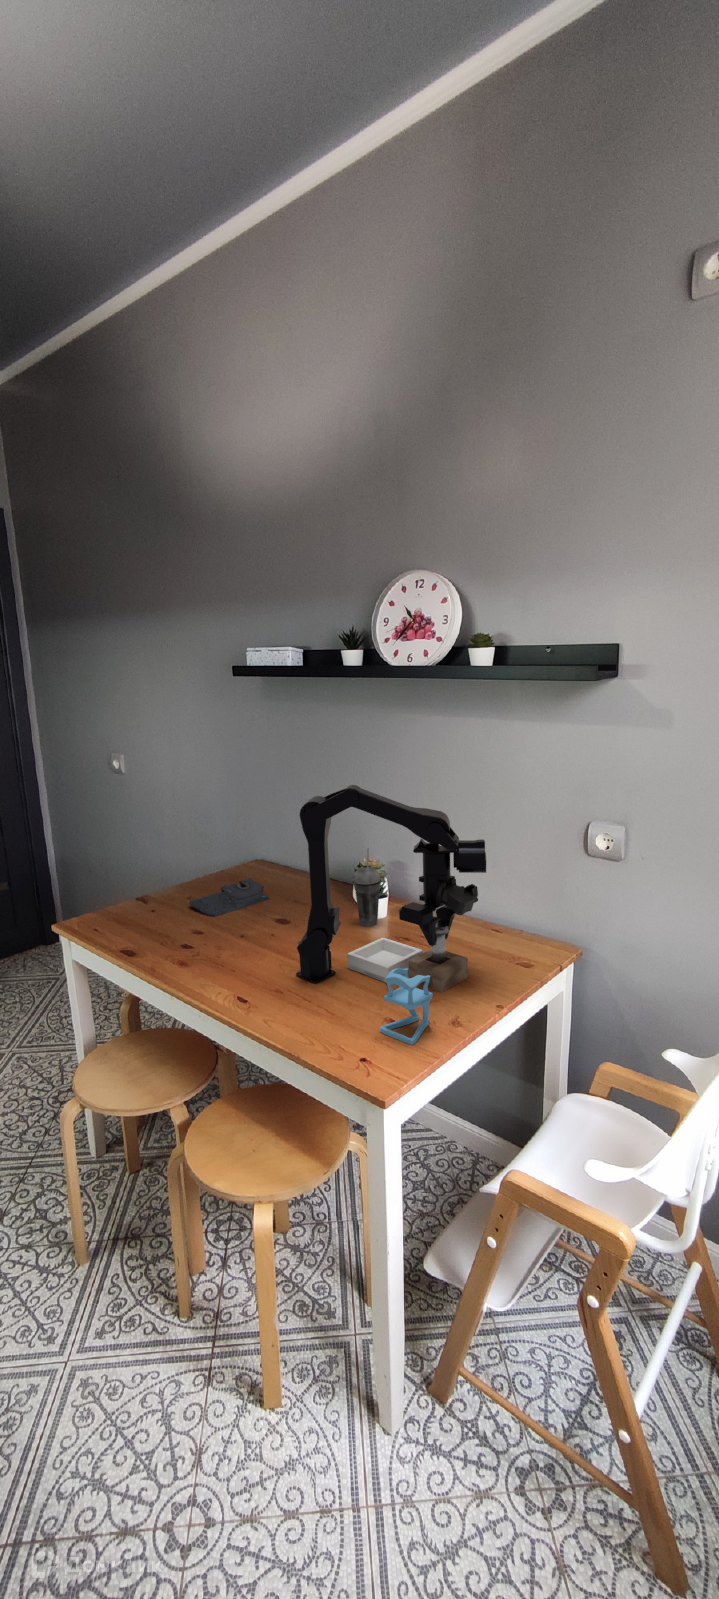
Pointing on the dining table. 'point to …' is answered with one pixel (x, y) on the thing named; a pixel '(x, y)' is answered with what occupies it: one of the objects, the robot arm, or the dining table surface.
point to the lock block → (439, 970)
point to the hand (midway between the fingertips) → (438, 942)
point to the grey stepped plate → (231, 898)
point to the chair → (407, 1002)
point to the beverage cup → (367, 893)
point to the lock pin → (439, 944)
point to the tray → (381, 958)
